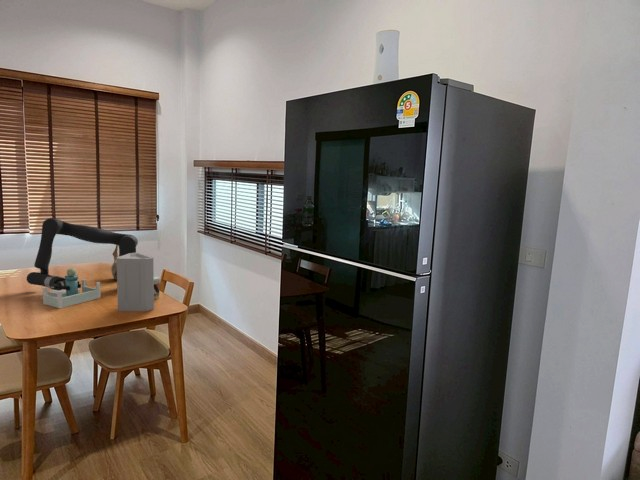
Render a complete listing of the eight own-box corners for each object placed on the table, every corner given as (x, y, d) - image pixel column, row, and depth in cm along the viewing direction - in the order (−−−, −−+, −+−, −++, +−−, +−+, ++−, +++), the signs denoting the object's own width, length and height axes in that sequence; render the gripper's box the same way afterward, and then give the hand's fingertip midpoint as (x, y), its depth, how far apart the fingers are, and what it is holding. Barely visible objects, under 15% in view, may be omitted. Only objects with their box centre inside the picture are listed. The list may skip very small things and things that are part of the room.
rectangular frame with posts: (43, 303, 221) (42, 287, 220) (84, 294, 242) (84, 279, 241) (59, 308, 215) (58, 291, 214) (100, 297, 236) (100, 282, 235)
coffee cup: (154, 300, 236) (154, 280, 234) (139, 299, 237) (139, 278, 236) (163, 296, 245) (163, 276, 243) (149, 294, 247) (149, 275, 245)
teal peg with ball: (81, 299, 232) (80, 267, 230) (75, 302, 226) (74, 270, 223) (69, 298, 232) (68, 267, 229) (63, 302, 226) (61, 269, 223)
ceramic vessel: (130, 281, 275) (130, 244, 272) (116, 283, 269) (115, 245, 265) (121, 276, 287) (121, 240, 283) (107, 278, 280) (106, 241, 277)
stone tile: (46, 294, 238) (46, 291, 237) (67, 290, 248) (66, 286, 248) (59, 298, 232) (59, 294, 232) (80, 293, 243) (80, 289, 243)
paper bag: (111, 306, 223) (109, 255, 219) (138, 301, 234) (137, 252, 230) (126, 315, 210) (125, 261, 206) (154, 309, 221) (154, 258, 217)
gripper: (42, 278, 227) (61, 283, 220) (67, 273, 240) (86, 278, 233) (42, 291, 228) (62, 297, 221) (68, 286, 241) (87, 291, 234)
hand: (74, 287), depth 227 cm, fingers closed on teal peg with ball, 5 cm apart
